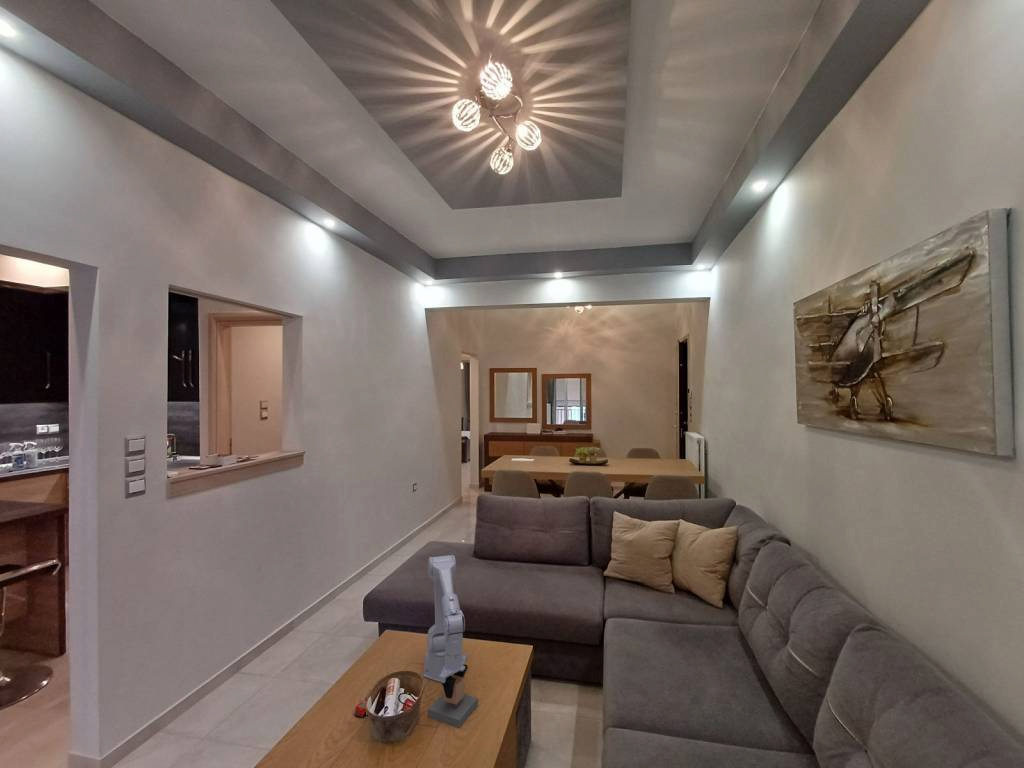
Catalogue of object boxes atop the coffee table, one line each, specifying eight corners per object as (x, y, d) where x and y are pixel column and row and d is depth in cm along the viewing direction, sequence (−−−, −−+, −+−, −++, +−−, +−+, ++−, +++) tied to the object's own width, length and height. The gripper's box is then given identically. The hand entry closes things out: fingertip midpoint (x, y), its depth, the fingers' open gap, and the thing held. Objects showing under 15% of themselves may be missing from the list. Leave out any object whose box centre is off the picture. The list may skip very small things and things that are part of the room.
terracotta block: (443, 700, 158) (443, 682, 158) (451, 691, 163) (451, 673, 163) (456, 704, 156) (456, 686, 156) (464, 695, 160) (464, 677, 160)
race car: (359, 721, 154) (359, 709, 154) (351, 713, 158) (351, 701, 158) (395, 703, 163) (395, 691, 163) (388, 696, 167) (388, 684, 167)
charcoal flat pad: (427, 718, 156) (427, 709, 156) (447, 697, 167) (447, 688, 167) (459, 729, 151) (459, 720, 151) (477, 707, 162) (477, 698, 162)
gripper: (452, 665, 151) (451, 709, 151) (475, 644, 164) (474, 683, 164) (433, 660, 154) (433, 702, 154) (457, 639, 167) (457, 678, 167)
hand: (453, 692), depth 159 cm, fingers closed on terracotta block, 5 cm apart
